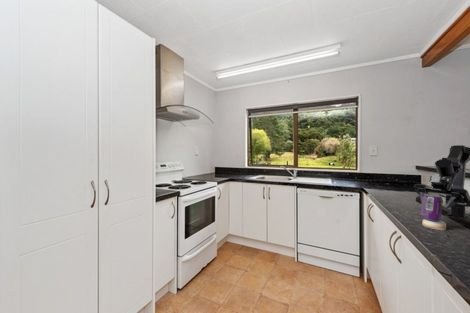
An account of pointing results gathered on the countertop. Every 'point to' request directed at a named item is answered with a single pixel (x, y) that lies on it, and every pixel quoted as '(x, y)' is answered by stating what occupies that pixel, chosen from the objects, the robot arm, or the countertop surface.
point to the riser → (434, 224)
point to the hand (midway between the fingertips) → (433, 205)
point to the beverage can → (431, 207)
